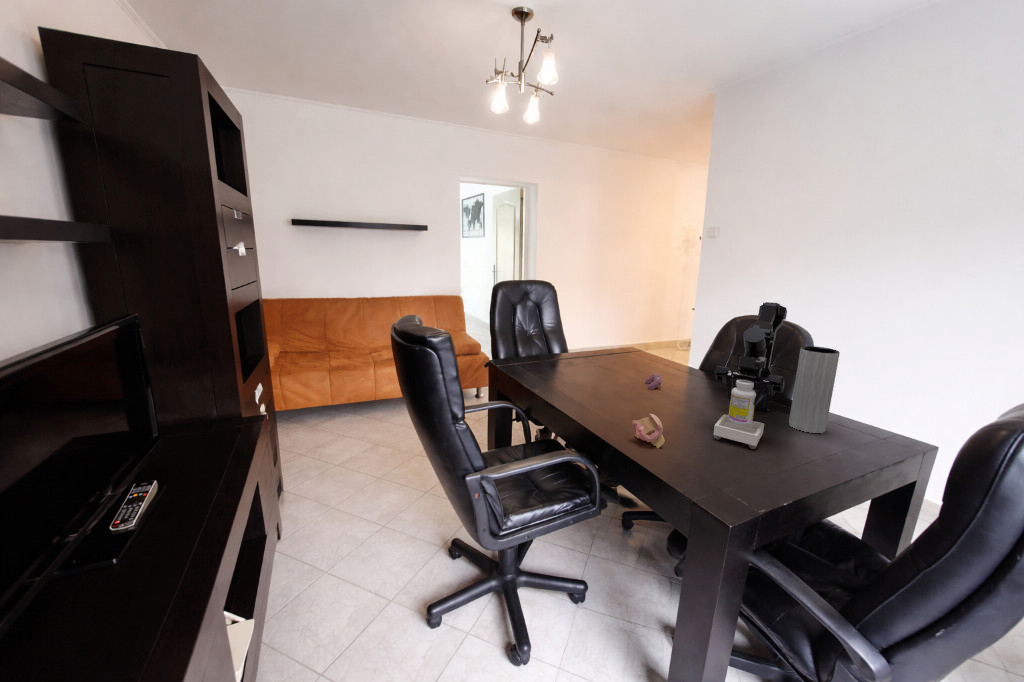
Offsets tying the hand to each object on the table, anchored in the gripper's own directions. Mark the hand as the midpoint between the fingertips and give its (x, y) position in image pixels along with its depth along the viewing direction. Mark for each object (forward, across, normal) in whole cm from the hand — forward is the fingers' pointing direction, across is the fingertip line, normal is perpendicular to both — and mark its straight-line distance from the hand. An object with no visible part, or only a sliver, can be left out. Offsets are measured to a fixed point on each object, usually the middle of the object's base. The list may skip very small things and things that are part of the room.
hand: (741, 402), depth 121 cm
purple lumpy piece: (-15, -40, +33) cm, 54 cm away
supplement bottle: (+4, 0, +6) cm, 7 cm away
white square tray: (+8, 0, +10) cm, 13 cm away
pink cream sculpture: (+23, -20, -5) cm, 31 cm away
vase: (-8, +16, +27) cm, 32 cm away
